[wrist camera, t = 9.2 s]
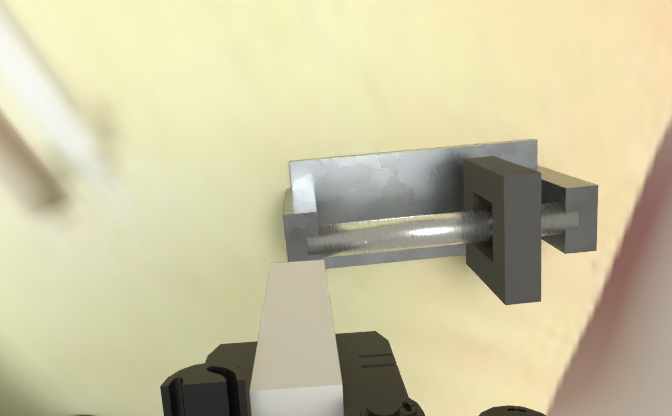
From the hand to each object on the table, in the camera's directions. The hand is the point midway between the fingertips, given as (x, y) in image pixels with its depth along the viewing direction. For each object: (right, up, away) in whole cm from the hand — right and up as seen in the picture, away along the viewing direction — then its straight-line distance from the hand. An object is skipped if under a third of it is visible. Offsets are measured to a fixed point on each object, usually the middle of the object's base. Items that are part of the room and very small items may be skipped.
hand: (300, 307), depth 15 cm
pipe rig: (+8, +3, +34) cm, 35 cm away
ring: (+13, +3, +29) cm, 32 cm away
